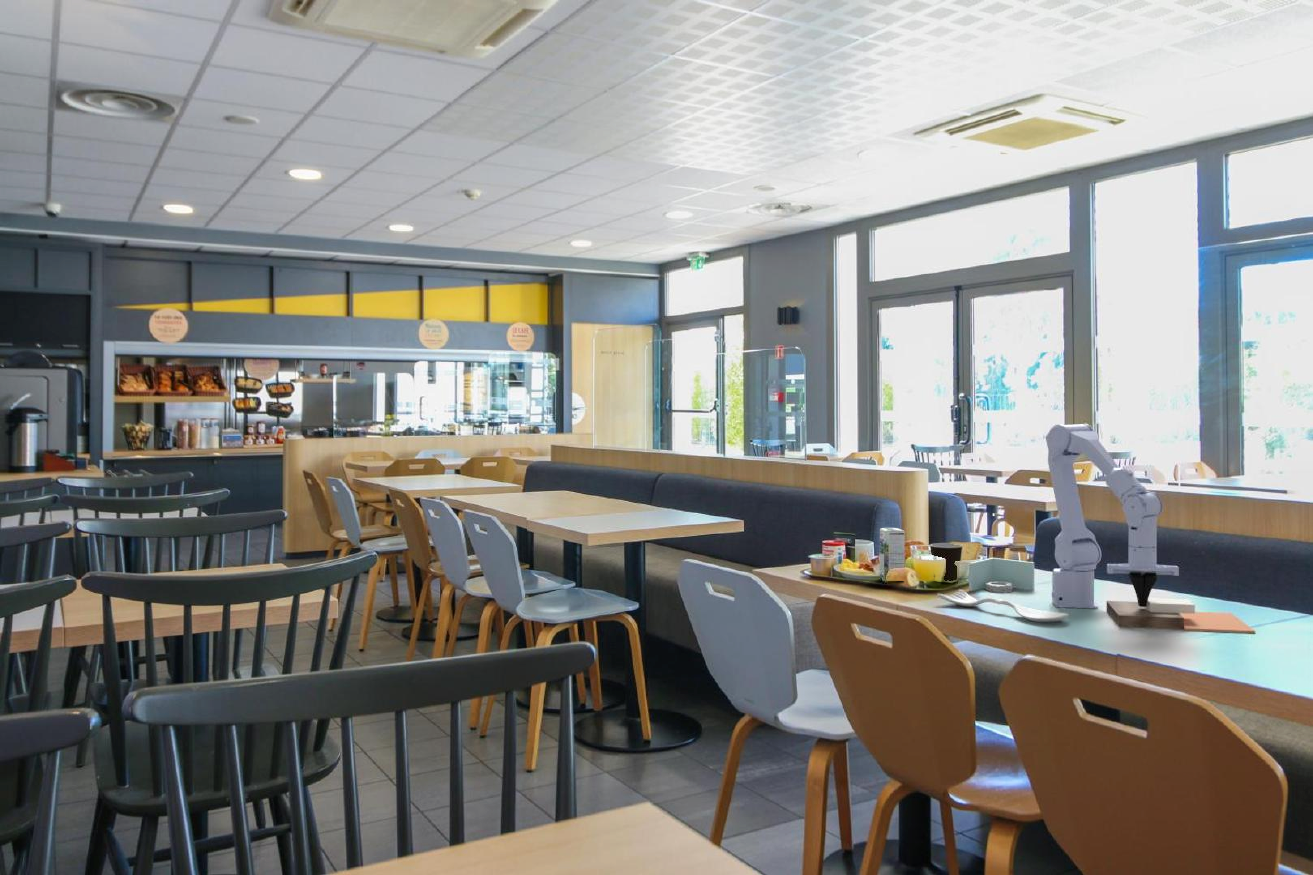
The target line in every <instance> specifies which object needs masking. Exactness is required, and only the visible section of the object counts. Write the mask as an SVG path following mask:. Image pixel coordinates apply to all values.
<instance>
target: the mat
mask: <svg viewBox="0 0 1313 875" xmlns="http://www.w3.org/2000/svg"><path fill="white" fill-rule="evenodd" d="M1179 614H1180V615H1181V616H1182V617H1183V618H1184V629H1183V630H1184V631H1186V632H1187V631H1191V632H1192V631H1193V632H1211V633H1213V632H1214V633H1237V634H1238V633H1239V634H1256V630H1255V629H1253V628H1252V627H1251V626H1249V625H1248V624H1246V622H1244V621H1242V620H1241V619H1239V618H1238V616H1236V615H1234V614H1232V613H1231V612H1214V611H1213V612H1212V611H1211V612H1210V611H1195V614H1188V613H1179Z"/></svg>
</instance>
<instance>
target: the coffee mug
mask: <svg viewBox="0 0 1313 875" xmlns="http://www.w3.org/2000/svg"><path fill="white" fill-rule="evenodd" d="M954 544H955V543H951V542H949V543H948V542H939V543H936V542H935V543H931V544H930V545H929V548H930V549H929V550H930V555H931V554H932V555H934V556H938V557H942V558H945V559H946V573H945V576H944V580H945V581H947V580H949V581H953V580H956V579H957V566H956V565H955V564H954V563H955V561H961V560H962V552H963V544H960V545H954ZM961 562H962V561H961Z"/></svg>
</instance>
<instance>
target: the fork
mask: <svg viewBox="0 0 1313 875" xmlns="http://www.w3.org/2000/svg"><path fill="white" fill-rule="evenodd" d="M952 594H953V595H952ZM952 594H949V595H948V594H942V593H937V598H939V599H941V600H944V601H947V602H950V603H953V604H956V605H960V606H962V607H975V606H979V605H981V604H984V603H993V604H998V605H1003V606H1004V605H1005V606H1008V607H1011V608H1012V610H1013V609H1014V611H1015V612H1016V613H1017V615H1019V616H1021V617H1022V618H1024V619H1026V620H1029V621H1031V622H1035V621H1036V623H1054V622H1058V621H1063V620H1066V619H1067V618H1069V616H1070V615H1069V614H1068V613H1065V612H1064V613H1063V612H1053V611H1048V610H1047V611H1046V610H1042V609H1041V610H1040V609H1035V608H1030V607H1026V606H1023V605H1019V604H1016V603H1014V602H1012V601H1009V600H1006V599H1003V598H1002V599H1000V598H995V597H984V598H981V599H979V600H978V599H976V598H975V597H973V596H972V595H969V594H968V592H966V591H965V590H963V589H958V591H956V592H955V593H952Z"/></svg>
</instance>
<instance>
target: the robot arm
mask: <svg viewBox="0 0 1313 875" xmlns="http://www.w3.org/2000/svg"><path fill="white" fill-rule="evenodd" d="M1045 440H1046V446H1047V449H1048V454H1047V462H1048V463H1047V464H1048V470H1049V473H1050V478H1051V484H1052V488H1053V489H1052V490H1053V493H1054V498H1055V505H1056V508H1057V514H1058V518H1059V524H1060V530H1061V531H1060V533H1058V535H1057V536H1056V537H1055V539H1054V544H1055V547H1054V548H1055V549H1054V558H1055V561H1056V563H1057V565H1058V566H1059V568H1053V569H1052V574H1051V575H1052V576H1051V577H1052V578H1051V579H1052V581H1051V582H1052V583H1051V587H1052V589H1051V600H1052V602H1053V604H1054V606H1055V608H1073V609H1074V608H1077V609H1079V608H1080V609H1098V608H1099V606H1098V605H1097V604H1096V602H1095V569H1097V565H1098V564H1099V563H1100V561H1101V559H1102V549H1101V547H1100V545H1099V544H1098V541H1097V540H1096V535H1095V534H1094V533H1093V532H1092V531H1091V530H1090V529H1088V528H1087V526H1086V522H1085V517H1084V513H1083V508H1082V502H1081V498H1080V495H1079V494H1080V493H1079V488H1078V484H1077V479H1076V474H1075V470H1074V463H1075V462H1076V461H1077V459H1079V458H1080V457H1081V456H1082V455H1084V456H1085V457H1086V458H1087V459H1089V461H1091V463H1092V464H1094V466H1095V467H1096V468H1097V469H1098V470H1099V471H1100V472H1101V473H1102V474H1103V475H1104V476H1105V477H1106V478H1105V484H1106V486H1108V488H1109V489H1110V491H1111V492H1112V493H1113V494H1114V495H1115V496H1116V497H1117V498H1118V500H1119V501H1120V502H1121V504H1123V505H1122V512H1123V514H1124V516H1125V518H1126V524H1127V526H1128V548H1127V549H1128V558H1127V559H1128V563H1107V564H1106V573H1107V574H1110V575H1113V574H1126V575H1128V578H1129V579H1130V582H1131V584H1132V587H1133V589H1134V592H1135V594H1136V595H1135V596H1136V598H1137V599H1136V600H1137V602H1138V605H1139V606H1140V607H1146V606H1147V601H1148V598H1150V594H1151V591H1152V590H1153V588H1154V586H1155V584H1156V582H1157V580H1158V576H1157V575H1160V576H1161V575H1162V576H1166V575H1167V576H1180V573H1179V572H1180V568H1179V566H1177V565H1168V564H1157V549H1158V548H1157V545H1158V544H1157V543H1158V542H1157V541H1158V540H1157V538H1158V537H1157V535H1158V534H1157V530H1158V526H1157V523H1158V520H1157V518H1158V517H1159V516H1160V515H1161V514H1162V512H1163V509H1164V506H1163V505H1164V504H1163V501H1162V499H1161V497H1160V496H1159V494H1158V493H1156V492H1153V491H1149V490H1148V489H1147V488H1146V487H1145V486H1144V485H1142V484H1141V482H1140V481H1139V480H1137V478H1136V477H1135V476H1134V471H1132V469H1128V468H1126V467H1119V465H1118V464H1117V463H1116V461H1115V460H1114V459H1113V458H1112V456H1111V455H1110V453H1109V452H1108V451H1107V450H1106V449H1105V447H1104V446H1103V444H1102V443H1101V442H1100V441H1099V434H1098V433H1097V431H1095V430H1094V428H1093V427H1092V426H1091V425H1089V424H1088V423H1081V424H1055V425H1053V426H1052V427H1051V428H1050V430H1049V432H1048V433H1047V434H1046V436H1045Z"/></svg>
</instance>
